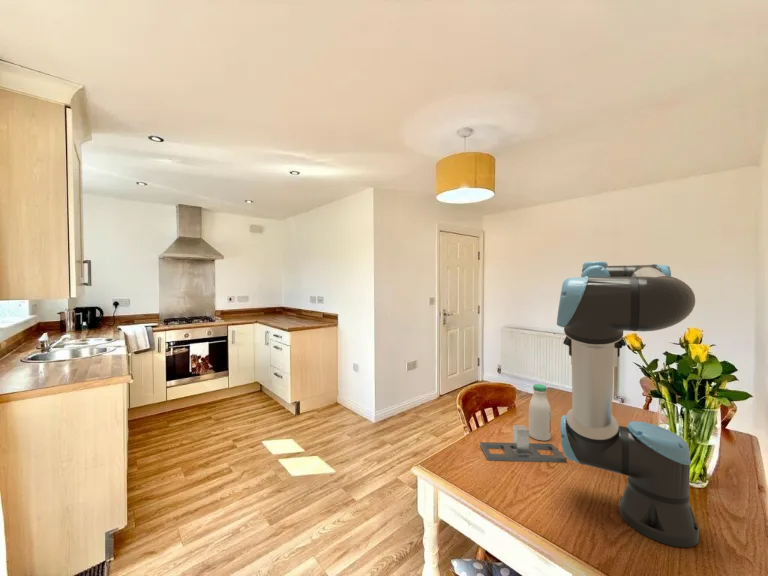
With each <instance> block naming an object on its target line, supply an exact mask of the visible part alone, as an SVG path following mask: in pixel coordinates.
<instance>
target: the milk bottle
mask: <svg viewBox="0 0 768 576" xmlns="http://www.w3.org/2000/svg"><path fill="white" fill-rule="evenodd" d="M532 386H533V387H532V389H533V390H532V391H533V394H532V397H531V399H530V401H529V405H528V430H529V437H531V438H532V439H535V440H538V441H543V442H545V441H549V440H550V439H551V434H552V433H551V432H552V431H551V429H552V428H551V427H552V425H551V421H552V420H551V417H552V416H551V415H552V413H551V405H550V402H549V400H548V397H547V394H546V393H547V386H546V385H544V384H539V383H535V384H533V385H532Z"/></svg>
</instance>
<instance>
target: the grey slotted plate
mask: <svg viewBox="0 0 768 576" xmlns="http://www.w3.org/2000/svg"><path fill="white" fill-rule="evenodd" d="M479 446H480V448H481V450H482V452H483V455H484V456H485V457H486V459H487V461H496V462H497V461H499V462H500V461H502V462H505V461H506V462H538V463H539V462H541V463H542V462H543V463H545V462H546V463H547V462H549V463H567V457H566V456H565V455H563V454H562V452H561V451H560V450H559V449H558V448H557V447H556V446H555V445H554V443H539V442H538V443H536V442H534V443H533V442H532V443H530V442H529V455H523V454H515V452H514V451H513V442H495V441H494V442H493V441H492V442H491V441H489V442H487V441H481V442H479ZM489 449H498V450H499V449H500V450H501V449H502V451H503V452H504V453H491V452H490V451H489ZM538 450H542V451H543V450H545V451H546V450H548V451H551V452H552V453H553V454H541V453H540V452H539V451H538Z"/></svg>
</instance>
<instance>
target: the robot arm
mask: <svg viewBox="0 0 768 576" xmlns="http://www.w3.org/2000/svg"><path fill="white" fill-rule="evenodd" d="M559 295H560V296H559V304H558V311H557V317H556V318H557V319H556V325H557V326H558V327H560V328H563V332H564V334H565V338H564V339H563V341H562V343H563V345H565V346H568V356H570V358H571V359H570V365H571V383H572V384H571V386H572V390H571V391H572V394H571V395H572V397H571V398H572V399H571V400H572V408H570V409H569V410H568V411H567V413H566V414H564V415H562V416H561V418H560V442H561V448H562V452H563V454H564V457H565V458H566V459H568V460H570V461H573V462H575V463H578V464H580V465H583V466H589V467H592V468H596V469H600V470H604V471H608V472H612V473H615V474H620V475H623V476H627V483H626V486H625V489H624V491H623V494H622V496H621V497H620V498H619V503H618V512H619V514H620V516H621V518H622V520H624V521H625V523H626V524H627V525H629V526H630V528H633V530H635V531H637V532H638V533H640V534H642V535H643V536H645V537H647V538H649V539H651V540H654V541H656V542H658V543H661V544H664V545H668V546H672V547H677V548H693V547H695V546H697V545H698V544H699V542H700V529H699V528H700V527H699V525H698V523H697V520H696V517H695V515H694V512H693V510H692V506H691V503H690V481H691V480H690V477H691V475H690V474H691V473H690V472H691V469H690V468H691V467H690V466H691V464H692V460H691V454H690V446H689V445H688V442H687V441H686V440H685V439H684V438H683V437H681V436H680V435H678V434H676V433H675V432H673V431H671V430H669V429H667V428H665V427H663V426H659V425H656V424H653V423H649V422H645V421H636V420H632V421H630V422H628V424H627V426H622V425H619V423H618V421H617V419H616V418H615V416H614V415H613V392H614V390H613V389H614V387H613V386H614V367H615V368H617V367H618V358H619V357H620V350H621V349H623V347H626V345H627V343H626V341H625V339H624V331H625V332H628V331H629V332H655V331H660V330H664V329H668V328H670V327H674V326H675V325H677V324H679V323H681V322H683V321H684V320H685V319H686V318H687V317H689V316H690V315H691V313H692V312H693V311H694V308H695V305H696V296H695V295H696V294H695V293H694V291H693V289H692V288H691V287H690V286H689V285H688V284H687V283H686V282H685V281H684V280H682V279H680V278H677V277H673V276H672V271H671V267H670V266H669V265H667V264H654V263H653V264H641V265H640V264H637V265H636V264H635V265H633V264H632V265H608V262H606V261H598V260H597V261H586V262H583V263H582V270H581V275H580V276H579V277H576V276H575V277H569V278H566V279H564V281H563V282H562V285H561V291H560V294H559Z"/></svg>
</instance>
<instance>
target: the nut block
mask: <svg viewBox="0 0 768 576" xmlns="http://www.w3.org/2000/svg"><path fill="white" fill-rule="evenodd" d="M512 443H513V449H512V450H513V451H514V453H515V454H523V455H530V453H529V443H530V435H529V428H528V427H527V426H526V425H525V424H512Z"/></svg>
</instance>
